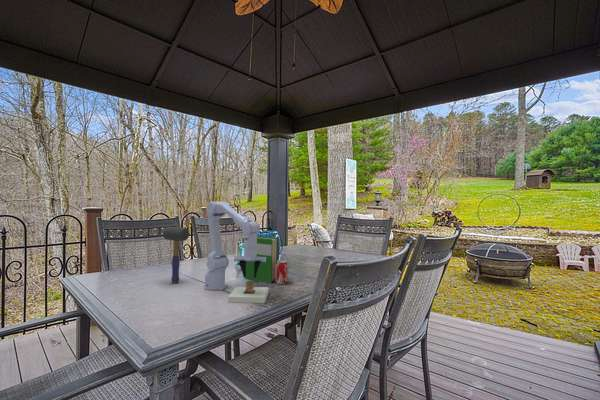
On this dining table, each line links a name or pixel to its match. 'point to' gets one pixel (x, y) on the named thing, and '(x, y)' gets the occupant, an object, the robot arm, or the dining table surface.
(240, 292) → the sage board
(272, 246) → the hardback book
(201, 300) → the dining table surface
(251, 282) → the oak peg
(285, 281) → the soda can
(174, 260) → the rubber mallet
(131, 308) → the dining table surface
